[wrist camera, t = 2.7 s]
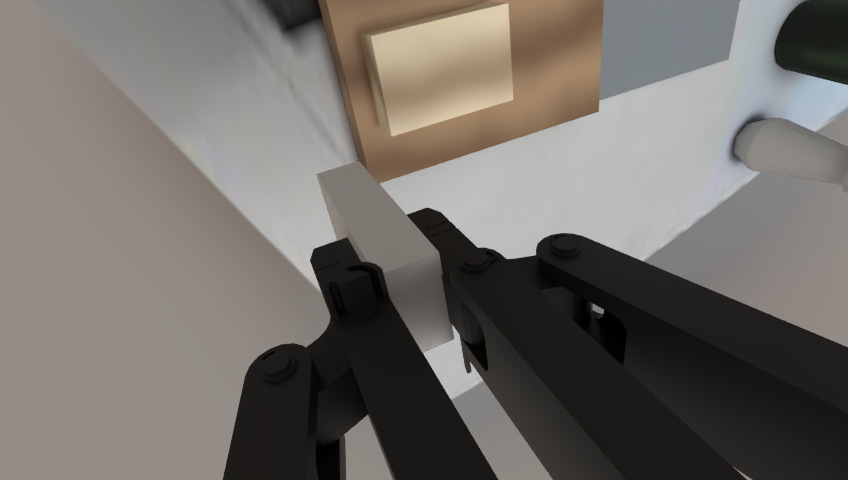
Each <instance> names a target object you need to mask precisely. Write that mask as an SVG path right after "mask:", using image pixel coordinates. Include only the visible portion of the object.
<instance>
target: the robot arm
mask: <svg viewBox="0 0 848 480" xmlns="http://www.w3.org/2000/svg"><path fill="white" fill-rule="evenodd" d="M316 175H317V178H318V181H319V184H320V187H321V191H322V194H323V197H324V200H325V203H326V206H327V210H328V213H329V216H330V219H331V222H332V225H333V229H334V232H335V235H336V238H337V241H335V242H332V243H329V244H326V245H324V246H321V247H318V248H315V249H314V250H313V253H312V256H311V259H310V262H311V264H312V267H313V270H314V273H315V275H316V278H317V281H318V283H319V286H320V289H321V292H322V294H323V297H324V300H325V303H326V305H327V307H328V310H329V313H330V317H331V318H330V323H329V325H328V327H327V329H326V331H325V332H324V333H323V334H322V335H321V336H320V337H319V338H318V339H317V340H315V341H314V342H313V343H312V344H310V345H309V346H307V347H306V348H305V347H304V346H302V345H298V344H294V343H292V344H282V345H279V346H276V347H274V348H271V349H269V350H268V351H266V352H264V353H263V354H261V355H260V356H258V357H257V359H256V360H255V361H254V362H253V363H252V364H251V366H250V367H249V369H248V371H247V373H246V376H245V380H244V384H243V389H242V394H241V398H240V403H239V408H238V412H237V417H236V421H235V426H234V431H233V435H232V440H231V445H230V449H229V454H228V458H227V463H226V468H225V472H224V477H223V480H346V455H345V437H344V434H345V433H346V432H348V431H349V430H350V429H351V428H352V427H353V426H355V425H356V424H357V423H358V422H359V421H360V420H362V419H363V418H364V417H365V416H366V415H368V416H369V418H370V421H371V424H372V426H373V429H374V431H375V434H376V437H377V439H378V442H379V444H380V447H381V450H382V452H383V455H384V457H385V460H386V463H387V465H388V468H389V470H390V473H391V475H392V478H393V480H498V478H497V477H496V475H495V473H494V472H493V470H492V468H491V467H490V465H489V463H488V462H487V460H486V458H485V457H484V455H483V453H482V452H481V450H480V448H479V447H478V445H477V443H476V441H475V440H474V438H473V436H472V435H471V433H470V432H469V430H468V428H467V426H466V425H465V423H464V421H463V420H462V418H461V416H460V415H459V413H458V411H457V410H456V408H455V406H454V405H453V403H452V401H451V400H450V398H449V396H448V395H447V393H446V391H445V390H444V388H443V386H442V385H441V383H440V381H439V380H438V378H437V376H436V375H435V373H434V371H433V370H432V368H431V366H430V364H429V363H428V361H427V359H426V358H425V356H424V354H423V352H426V351H428V350H430V349H432V348H435V347H437V346H439V345H442V344H444V343H446V342H448V341H451V340H453V339H454V335H453V329H452V325H453V326H454V327H455V329H456V330H457V332H458V333H459V334H460V340H461V346H462V352H463V358H464V364H465V368H466V371H467V373H470V372H471V366H470V362H471V363H472V365H473V366H474V367H475V369H476V370H477V372H478V373H479V375H480V376H481V377H482V379H483V380H484V382H485V383H486V385H487V386H488V387H489V389H490V390H491V392H492V393H493V394H494V396H495V397H496V399H497V400H498V401H499V403H500V405H501V406H502V407H503V409H504V410H505V411H506V413H507V414H508V416H509V417H510V419H511V420H512V422H513V423H514V424H515V426H516V427H517V429H518V430H519V432H520V433H521V435H522V436H523V437H524V439H525V440H526V442H527V443H528V444H529V446H530V447H531V449H532V450H533V452H534V453H535V455H536V456H537V457H538V459H539V460H540V462H541V463H542V464H543V466H544V467H545V469H546V470H547V472H548V473H549V475H550V476H551V477H552V479H553V480H747V479H745V478H744V477H743V476H742V475H741V474H740V473H739V472H738V471H737V470H739V471H740V472H742V473H743V474H745V475H746V476H748V477H749V478H751V479H752V480H848V347H846V346H843V345H841V344H839V343H836V342H834V341H831V340H829V339H826V338H824V337H822V336H819V335H817V334H815V333H812V332H810V331H807V330H805V329H803V328H800V327H798V326H795V325H793V324H791V323H788V322H786V321H784V320H781V319H779V318H776V317H774V316H772V315H769V314H767V313H764V312H762V311H759V310H757V309H755V308H752V307H750V306H748V305H745V304H743V303H740V302H738V301H736V300H734V299H731V298H729V297H726V296H724V295H722V294H719V293H717V292H714V291H712V290H710V289H707V288H705V287H703V286H700V285H698V284H695V283H693V282H690V281H688V280H686V279H683V278H681V277H679V276H676V275H674V274H672V273H669V272H667V271H664V270H662V269H660V268H657V267H655V266H652V265H650V264H647V263H645V262H643V261H641V260H638V259H636V258H633V257H631V256H629V255H626V254H624V253H621V252H619V251H617V250H614V249H612V248H610V247H607V246H605V245H602V244H600V243H598V242H595V241H593V240H590V239H588V238H586V237H583V236H580V235H576V234H568V233H561V234H554V235H550V236H548V237H546V238H544V239H542V240H541V241H540V242H539V243H538V245H537V249H536V255H535V256H529V257H523V258H517V259H506V258H504V257H503V256H502V255H501V254H500V253H498V252H496V251H495V250H492V249H488V248H477V247H476V246H475V245H474V244H473V243H472V242H471V241H470V240H469V239H468V238H467V237H466V236H465V235H464V234H463V233H462V232H461V231H460V230H459V229H457V228H456V227H455V226H454V225H453V224H452V223H451V222H449V220H448V219H447V218H446V217H445V216H444V215H443V214H442V213H441V212H438V211H436V210H433V209H430V208H425V209H422V210H419V211H416V212H413V213H411V214H408V215H406V214H405V213H404V212H403V211H402V209H401V208H400V207H399V206H398V205H397V204H396V203H395V201H394V200H393V199H392V198H391V197H390V196H389V195H388V193H387V192H386V191H385V190H384V189H383V188H382V187H381V185H380V184H379V183H378V182H377V181H376V180H375V179H374V177H373V176H372V175H371V174H370V173H369V172H368V171H367V169H366V168H365V167H364V166H363V165H362V164H361V163H360V161H357V162H354V163H351V164H348V165H345V166H341V167H338V168H335V169H332V170H329V171H325V172H322V173H319V174H316ZM593 304H595V305H597V306H599V307H601V308H602V309H604V314H600V313H597V312H595V311H593V310H592V306H593ZM451 323H452V324H451ZM732 466H733V467H732ZM735 468H736V469H737V470H736V469H735Z"/></svg>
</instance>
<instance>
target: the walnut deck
mask: <svg viewBox="0 0 848 480" xmlns="http://www.w3.org/2000/svg"><path fill="white" fill-rule="evenodd" d="M318 2H319V6H320V10H321V14H322V18H323V22H324V26H325V30H326V34H327V38H328V42H329V45H330V49H331V53H332V57H333V61H334V65H335V69H336V73H337V77H338V81H339V85H340V88H341V92H342V96H343V100H344V104H345V108H346V112H347V116H348V120H349V124H350V127H351V131H352V135H353V139H354V143H355V147H356V151H357V155H358V159H359V161H360V163H361V164H362V165H363V166H364V167H365V168H366V169H367V171H368V172H369V173H370V174H371V175H372V176H373V177H374V179H375V180H376V181H377V182H378V183H382V182H385V181H388V180H391V179H394V178H397V177H400V176H403V175H406V174H409V173H412V172H415V171H418V170H421V169H424V168H428V167H431V166H434V165H437V164H440V163H443V162H446V161H449V160H452V159H455V158H458V157H461V156H464V155H467V154H470V153H473V152H476V151H480V150H483V149H486V148H489V147H492V146H495V145H498V144H501V143H504V142H507V141H510V140H513V139H516V138H519V137H522V136H525V135H528V134H531V133H535V132H538V131H541V130H544V129H547V128H550V127H553V126H556V125H559V124H562V123H565V122H568V121H571V120H574V119H577V118H580V117H583V116H587V115H590V114H593V113H596V112H599V92H600V72H601V51H602V31H603V10H604V0H318ZM484 2H501V3H508V7H509V26H510V44H511V63H512V82H513V100H511V101H508V102H505V103H501V104H498V105H495V106H491V107H488V108H485V109H481V110H478V111H475V112H472V113H468V114H465V115H462V116H458V117H455V118H452V119H448V120H445V121H442V122H438V123H435V124H432V125H429V126H425V127H422V128H419V129H415V130H412V131H409V132H405V133H402V134H399V135H395V136H390V135H389V134H388V133H387V132H386V131H384V130H383V129H382V128H381V127H380V126H379V121H378V117H377V112H376V107H375V103H374V98H373V94H372V89H371V85H370V80H369V76H368V71H367V66H366V62H365V57H364V53H363V48H362V44H361V39H360V35H359V32H362V31H366V30H371V29H375V28H379V27H383V26H387V25H392V24H396V23H400V22H404V21H408V20H413V19H417V18H421V17H425V16H430V15H434V14H438V13H442V12H446V11H451V10H455V9H459V8H463V7H467V6H472V5H476V4H480V3H484Z"/></svg>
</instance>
